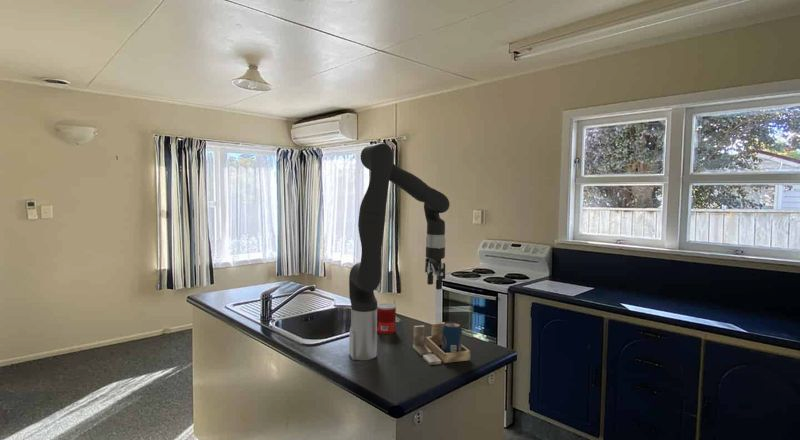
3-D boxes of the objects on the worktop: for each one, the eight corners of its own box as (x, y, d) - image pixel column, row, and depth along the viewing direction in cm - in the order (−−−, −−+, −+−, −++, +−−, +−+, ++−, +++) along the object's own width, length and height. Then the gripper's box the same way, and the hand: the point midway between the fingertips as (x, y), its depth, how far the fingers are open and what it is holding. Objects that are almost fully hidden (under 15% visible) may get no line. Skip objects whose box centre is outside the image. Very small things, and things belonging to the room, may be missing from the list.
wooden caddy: (443, 363, 143) (444, 339, 143) (425, 345, 160) (425, 323, 159) (470, 360, 146) (470, 336, 146) (449, 342, 163) (449, 321, 162)
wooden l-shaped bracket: (429, 365, 142) (430, 341, 142) (412, 347, 158) (413, 326, 158) (441, 363, 143) (441, 340, 143) (423, 346, 160) (423, 325, 159)
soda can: (440, 353, 153) (440, 321, 152) (458, 353, 153) (459, 321, 152) (443, 361, 146) (444, 327, 145) (462, 361, 146) (464, 327, 145)
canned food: (398, 332, 175) (399, 306, 174) (382, 335, 170) (383, 309, 169) (388, 327, 181) (389, 302, 180) (373, 330, 176) (373, 304, 176)
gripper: (419, 243, 168) (418, 283, 169) (433, 248, 155) (432, 291, 156) (436, 243, 171) (435, 282, 172) (452, 248, 157) (450, 290, 158)
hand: (434, 286), depth 164 cm, fingers open, 8 cm apart
